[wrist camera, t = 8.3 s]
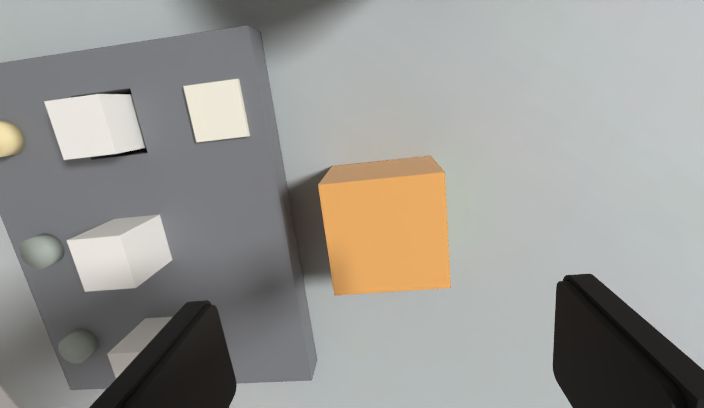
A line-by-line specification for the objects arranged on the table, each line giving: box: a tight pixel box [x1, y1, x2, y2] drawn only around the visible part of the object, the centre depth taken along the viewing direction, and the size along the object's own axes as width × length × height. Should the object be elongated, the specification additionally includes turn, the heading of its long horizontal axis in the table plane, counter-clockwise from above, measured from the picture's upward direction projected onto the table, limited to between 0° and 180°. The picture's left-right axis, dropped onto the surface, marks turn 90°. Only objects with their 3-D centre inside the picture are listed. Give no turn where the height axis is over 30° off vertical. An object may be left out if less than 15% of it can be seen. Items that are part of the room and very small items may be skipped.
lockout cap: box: [318, 156, 451, 295], centre depth 20 cm, size 6×6×5 cm
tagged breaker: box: [44, 94, 146, 160], centre depth 20 cm, size 3×3×4 cm
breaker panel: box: [0, 25, 317, 390], centre depth 22 cm, size 18×22×6 cm
